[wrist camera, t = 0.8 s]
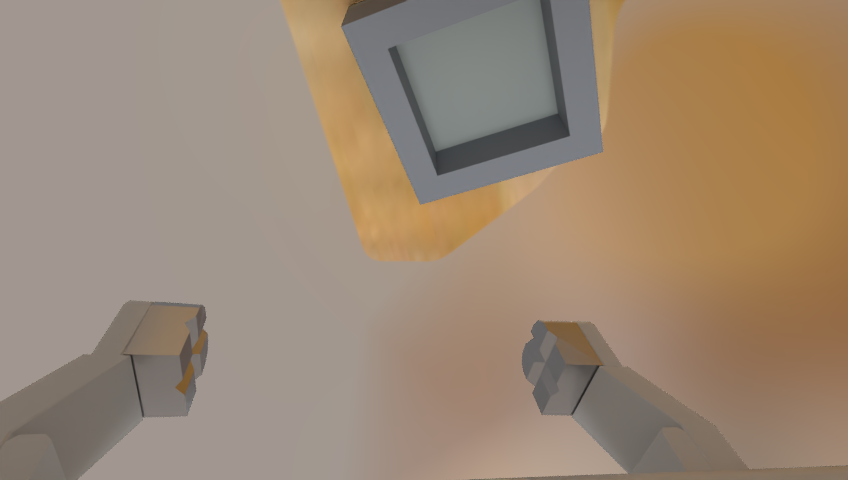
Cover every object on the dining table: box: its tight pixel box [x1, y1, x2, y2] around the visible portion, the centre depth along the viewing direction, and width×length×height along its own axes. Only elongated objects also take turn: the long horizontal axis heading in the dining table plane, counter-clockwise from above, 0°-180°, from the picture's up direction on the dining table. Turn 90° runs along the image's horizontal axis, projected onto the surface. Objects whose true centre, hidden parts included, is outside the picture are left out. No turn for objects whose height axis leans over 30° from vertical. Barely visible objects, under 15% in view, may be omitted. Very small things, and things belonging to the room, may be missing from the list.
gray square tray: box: [341, 0, 603, 205], centre depth 44 cm, size 20×20×6 cm
